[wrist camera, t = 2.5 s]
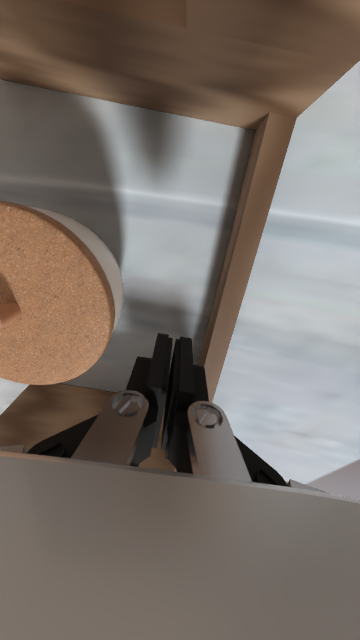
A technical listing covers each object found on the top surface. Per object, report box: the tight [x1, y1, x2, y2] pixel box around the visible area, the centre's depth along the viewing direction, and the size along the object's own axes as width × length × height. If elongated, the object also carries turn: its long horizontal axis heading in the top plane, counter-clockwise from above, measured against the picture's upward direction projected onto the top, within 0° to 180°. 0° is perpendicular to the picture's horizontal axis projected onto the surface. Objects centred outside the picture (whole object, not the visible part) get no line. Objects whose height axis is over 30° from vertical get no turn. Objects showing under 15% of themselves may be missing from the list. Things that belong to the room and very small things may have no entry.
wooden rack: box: [0, 0, 360, 472], centre depth 15 cm, size 18×27×12 cm, turn 170°
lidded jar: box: [0, 201, 124, 385], centre depth 16 cm, size 11×11×9 cm
